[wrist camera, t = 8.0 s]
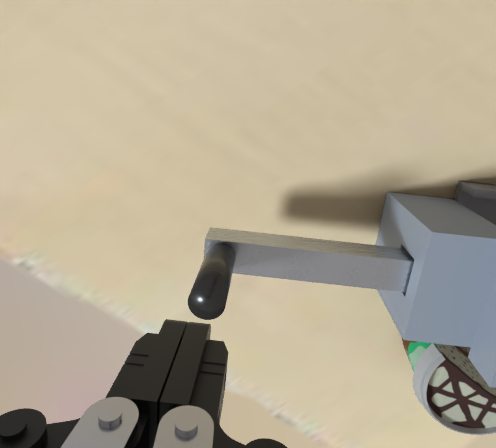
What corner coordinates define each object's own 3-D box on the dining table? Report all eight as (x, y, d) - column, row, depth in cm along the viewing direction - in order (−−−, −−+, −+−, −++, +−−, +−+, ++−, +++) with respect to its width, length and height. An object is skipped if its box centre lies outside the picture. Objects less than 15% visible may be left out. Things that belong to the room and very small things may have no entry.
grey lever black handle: (210, 227, 37) (185, 281, 26) (477, 256, 36) (559, 323, 26) (208, 256, 38) (184, 319, 27) (468, 284, 37) (543, 360, 27)
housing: (389, 182, 42) (456, 236, 27) (454, 189, 42) (559, 247, 26) (367, 282, 46) (415, 378, 31) (427, 288, 46) (504, 388, 30)
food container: (369, 334, 48) (393, 394, 39) (406, 301, 46) (440, 355, 37) (438, 388, 50) (477, 457, 41) (476, 358, 48) (526, 424, 39)
